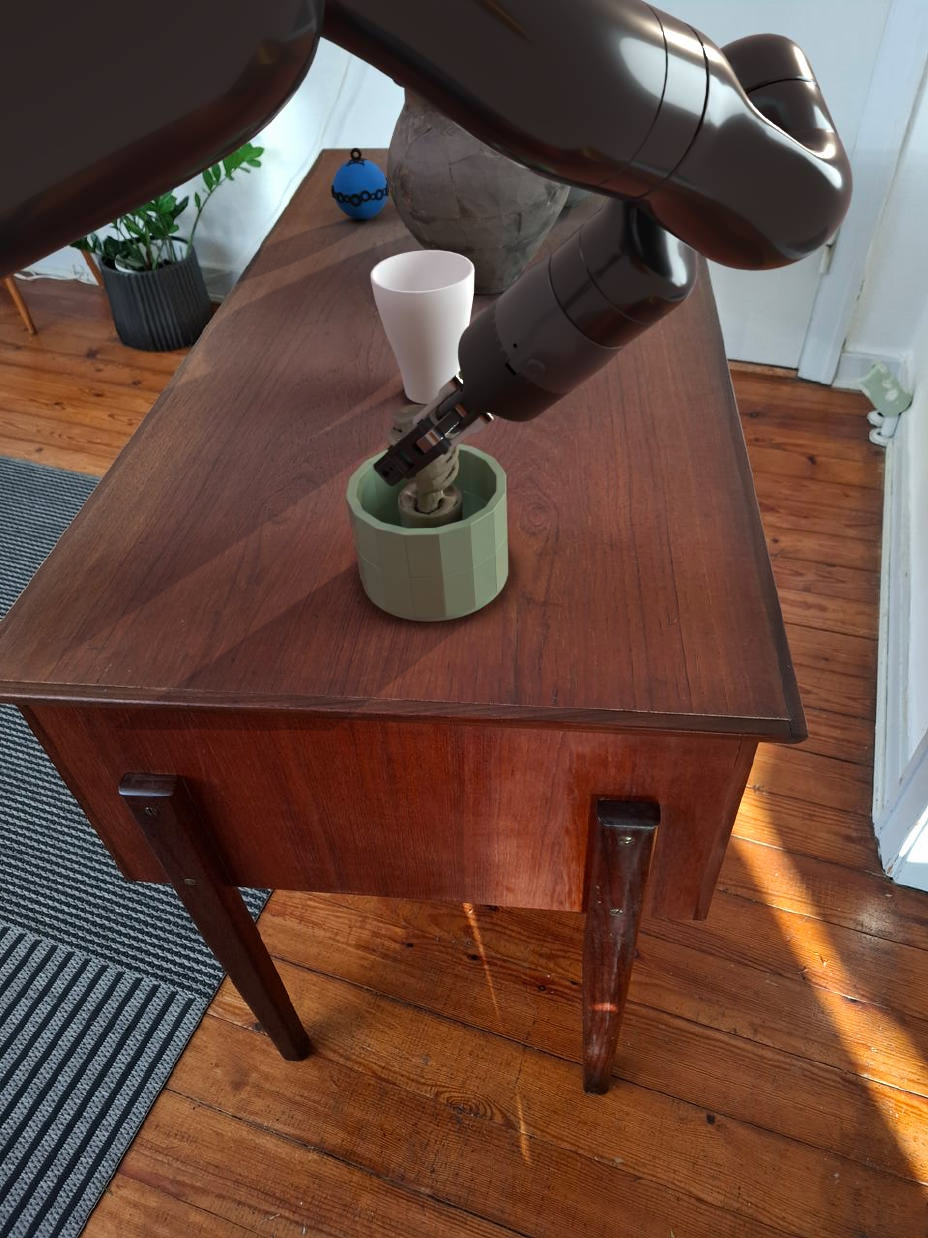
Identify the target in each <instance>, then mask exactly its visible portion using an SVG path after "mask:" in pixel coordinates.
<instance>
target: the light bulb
mask: <svg viewBox="0 0 928 1238" xmlns="http://www.w3.org/2000/svg"><path fill="white" fill-rule="evenodd" d="M427 405H428V404H420V403H415V404H407V405H404V406H400V407H399V408H397V409H396V410H395V411H394V413H393V415H392V422H393V423H394V425H393V426H392V427H391V428H390V429H389V431H387V435H386V443H387V445H388V447H390V446H391V445H393V446H394V444H395V443H397V441H396V440H397V439H398V438H399V437H400V436H402V437H403V436H404V435H405V434H407V433H408V432H409V431H410V430H411V429H412V428H413V419H414V417H415V416H416V415H417V414H418V413H419V412H420V411H422V410H423V409H424V408H425V407H426V406H427ZM436 410H437V407H436V408H435V409H434V410H433V411H432V412H431V413H430V419H431V421H432V422H433V423H434V424H437V423H438V420H437V419H436V416H435V413H434V412H435V411H436ZM458 433H460V432H458ZM458 433H455V434H451V433H449V432H448V433H447V434H446V435H445V437H446V438H449V439H451V438H454V437H455V436H456V435H457V434H458ZM458 454H459V445H457V446H456V447H455V448H454V449H452V450H451V451H450V452H449V453H448V454H446V455H441V456H439V457H438V458H437V459H435V460H434V461H433V462H431V463H430V464H429V465H427V466H426V467H425V468H423V469H422V470H421V471H419V472H418V474H417V475H416V476H415V477H414V478H412V477H411V478H410V479H409V480H407V479H406V478H405V477H404V478H403V479H402V480H401V481H404V482H409V483H410V484H408V485H407V486H406V487H405V488H404V489H403V490H402V491H401V492H400V493H399V496H398V508H399V515H400V520H401V524H402V527H403V528H408V529H414V528H437V527H441V526H445V525H448V524H452V523H455V522H459V521H462V518H463V515H462V510H463V502H462V494H461V491H460V490H459V488H458V487H457V486H456V485H454V484H453V483H452V482H453V480H454V479H455V477H456V475H457V473H458V468H459V463H458Z"/></svg>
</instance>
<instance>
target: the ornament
mask: <svg viewBox="0 0 928 1238" xmlns="http://www.w3.org/2000/svg"><path fill="white" fill-rule="evenodd" d="M355 153H357V156H356V155H355ZM349 156H350V159H349V160H348V161H346V162H344V163H343V164H342V165H340V167H339V168H338V169H337V170H336V172H335V175H334V178H333V182H332V184H331V186H330V192H331V197H332V199H334V200H335V202H336V204H337V206H338V208H339V209H340V210H341V211H342V212H343V213H344V214H345V215H347V216H349V217H350V218H352V219H355V220H360V221H365V220H369V219H372V218H373V217H375V216H377V215H378V214H379V213H380V212H381V211H382V209H383V208H384V207H385V205H386V203H387V199H388V197H389V196H390V189H389V184H388V178H387V177H386V176H385V174H384V172H383V171H382V169H381V168H380V167H379V166H378V165H377V164H376V163H374V162H372V161H370V160H368V159H367V158H364V157H362V156H363V153H362V150H361V149H360V148H358V147H353V148H352V149H351V150H350V152H349Z"/></svg>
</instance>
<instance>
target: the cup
mask: <svg viewBox="0 0 928 1238" xmlns="http://www.w3.org/2000/svg"><path fill="white" fill-rule="evenodd" d="M370 282H371V287H372V292H373V297H374V301H375V305H376V308H377V312H378V315H379V317H380V321H381V323H382V326H383V330H384V332H385V334H386V337H387V339H388V341H389V344H390V347H391V349H392V352H393V354H394V357H395V359H396V363H397V365H398V369H399V371H400V374H401V380H402V384H403V388H404V393H405V396H406V398H407V399H409V400H411V402H414V403H416V404H423V405H428V404H429V403H430V402H432V401H433V400H434V399H435V398H436V397H437V396H438V393H439V390H440V389H441V388H442V387H443V386H444V385H445V384H446V383H447V382H448V381H449V380H450V379H452V378H453V377H454V376H455V375H456V374H457V375H458V376H459V371H460V367H459V361H458V345H459V341H460V338H461V335H462V333H463V332H464V330H465V329H466V328H467V327H468V326H469V325H470V322H471V315H472V307H473V302H474V301H473V299H474V294H475V293H474V266H473V264H472V262H471V261H470V260H469V259H468V258H466V257H464V256H462V255H460V254H456V253H452V252H447V251H440V250H425V249H424V250H413V251H407V252H403V253H399V254H396V255H392V256H390V257H387V258H385V259H383V260H381V261H380V262H378V263H377V264H376V265H374V267H373V269H372V270H371V271H370Z"/></svg>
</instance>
